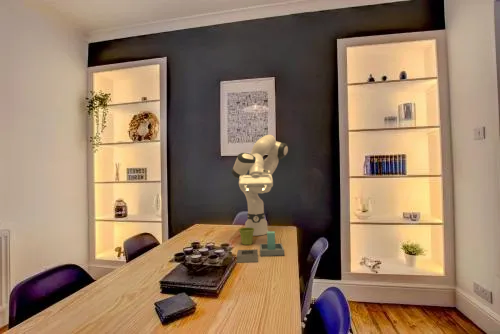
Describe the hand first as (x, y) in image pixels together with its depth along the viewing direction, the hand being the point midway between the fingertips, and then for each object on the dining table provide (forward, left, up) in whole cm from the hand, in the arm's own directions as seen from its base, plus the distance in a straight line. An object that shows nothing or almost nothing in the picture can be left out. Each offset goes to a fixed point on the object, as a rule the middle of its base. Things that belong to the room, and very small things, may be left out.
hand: (255, 191), depth 146 cm
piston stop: (+10, +8, -31) cm, 33 cm away
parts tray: (+10, +8, -31) cm, 34 cm away
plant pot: (-8, -6, -32) cm, 33 cm away
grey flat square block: (+19, -5, -31) cm, 37 cm away
